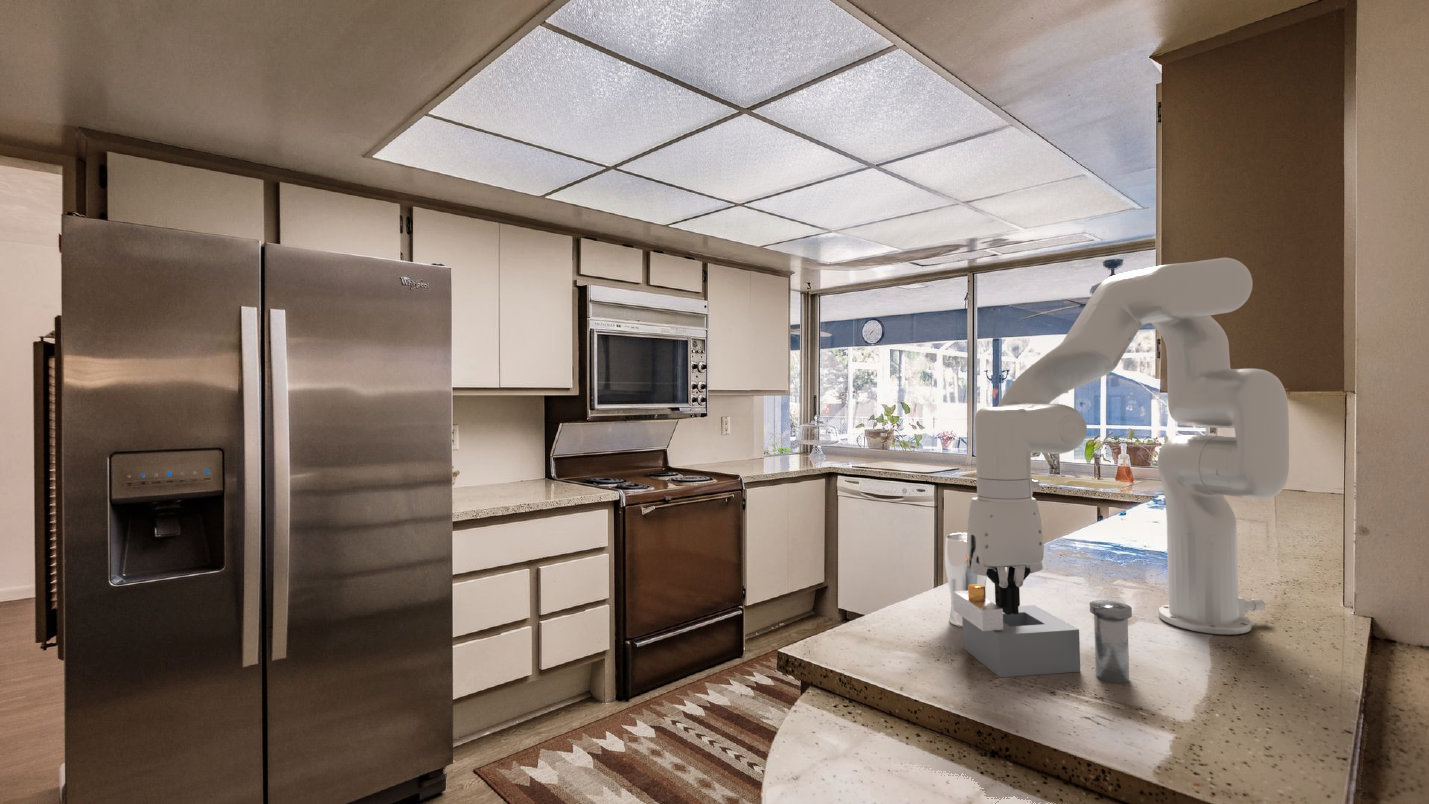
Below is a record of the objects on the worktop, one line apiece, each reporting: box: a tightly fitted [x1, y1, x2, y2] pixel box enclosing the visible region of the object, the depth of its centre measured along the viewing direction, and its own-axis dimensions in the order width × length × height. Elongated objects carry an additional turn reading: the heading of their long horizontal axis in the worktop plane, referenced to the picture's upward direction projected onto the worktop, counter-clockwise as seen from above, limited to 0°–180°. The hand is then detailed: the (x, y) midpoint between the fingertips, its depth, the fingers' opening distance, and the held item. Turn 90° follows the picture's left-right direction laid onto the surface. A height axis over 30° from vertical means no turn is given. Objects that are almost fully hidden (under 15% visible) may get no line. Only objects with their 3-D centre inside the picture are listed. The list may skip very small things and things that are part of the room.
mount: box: [962, 604, 1081, 678], centre depth 98 cm, size 12×11×6 cm
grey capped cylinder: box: [1089, 599, 1133, 685], centre depth 91 cm, size 5×5×10 cm
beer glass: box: [944, 532, 988, 629], centre depth 114 cm, size 7×7×15 cm
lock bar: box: [954, 584, 1003, 631], centre depth 97 cm, size 3×9×5 cm, turn 5°
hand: (1007, 611), depth 98 cm, fingers closed
